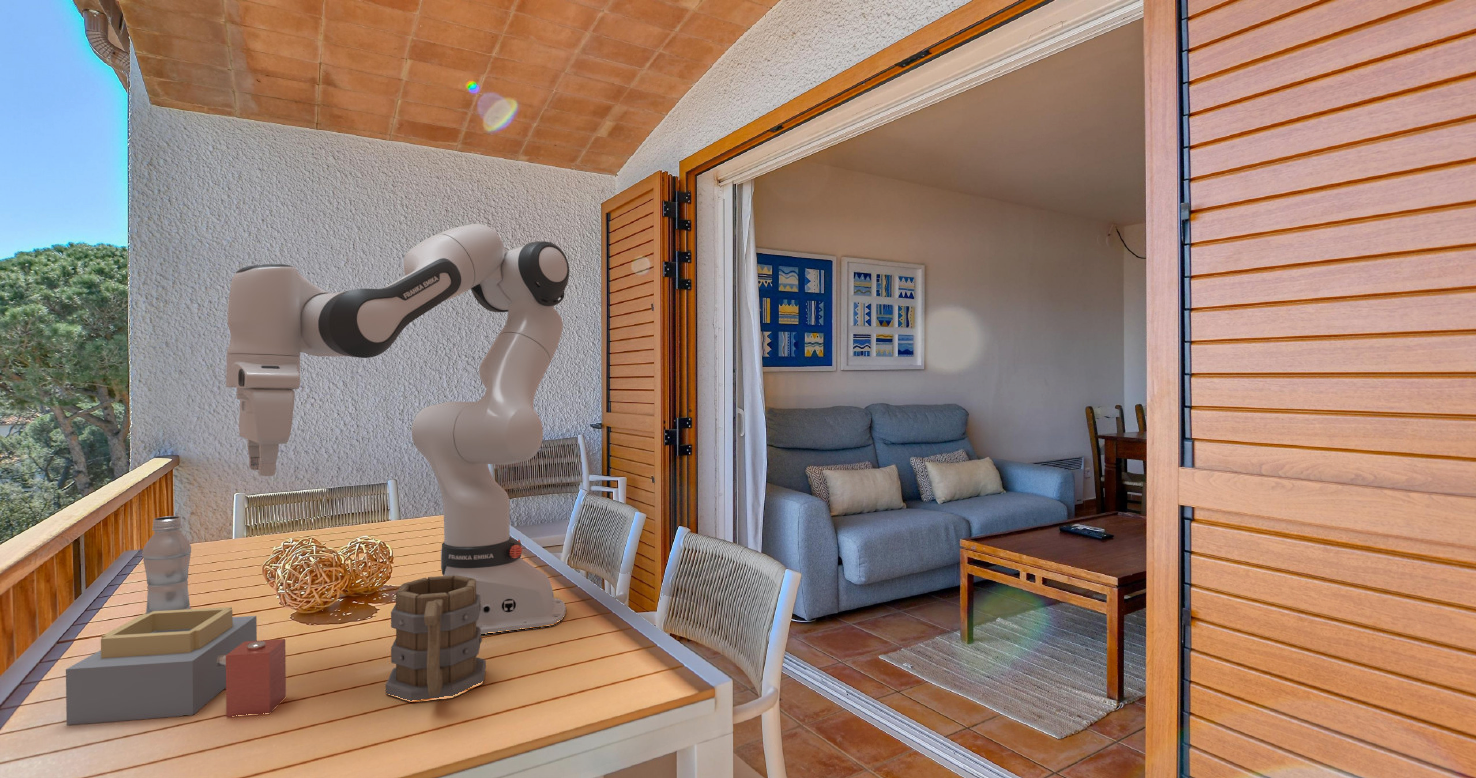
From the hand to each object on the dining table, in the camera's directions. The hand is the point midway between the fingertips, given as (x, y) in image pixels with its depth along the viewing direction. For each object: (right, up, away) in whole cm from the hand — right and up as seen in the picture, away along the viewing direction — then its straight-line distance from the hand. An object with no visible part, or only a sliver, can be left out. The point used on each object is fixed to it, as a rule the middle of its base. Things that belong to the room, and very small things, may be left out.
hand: (261, 472), depth 104 cm
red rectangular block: (+5, -30, -8) cm, 31 cm away
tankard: (+27, -30, -4) cm, 40 cm away
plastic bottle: (-27, -30, +17) cm, 43 cm away
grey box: (-10, -30, -3) cm, 32 cm away
